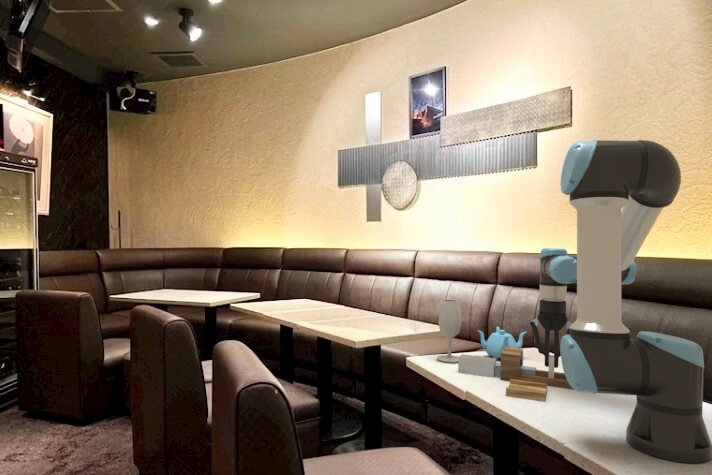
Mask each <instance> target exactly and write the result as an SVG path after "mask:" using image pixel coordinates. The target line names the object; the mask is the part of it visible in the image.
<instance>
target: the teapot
mask: <svg viewBox="0 0 712 475" xmlns="http://www.w3.org/2000/svg"><path fill="white" fill-rule="evenodd" d="M476 331H477V332H478V333H479V335H480V345H481V347H482V348H483V349H484V351H485V352H486V354H487V355H489V357H491V356H492V357H491V358H496V361H499V359H501V352H502V351H503V350H504V348H505V347H510V348H519V349H522V347H523V342H524V340H523V339H524V335H525V334H526V333H527V331H523V332H521V333H520V334H519V337H518V341H517V342H516V339H515V337H514V336H513V335H512V334H511V333H507V332H506V331H505V329H500V326H496V332H492V333H491V334H490V335H489V337H488V339H487V340H485V334H484V331H481V330H479V329H477V330H476Z"/></svg>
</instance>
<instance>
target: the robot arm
mask: <svg viewBox="0 0 712 475" xmlns="http://www.w3.org/2000/svg"><path fill="white" fill-rule="evenodd" d="M560 176H561V177H560V191H561V194H564V195H565V196H569V205H571V206H572V207H573V208H574V209H575V210H576V255H568V251H567V249H565V248H557V247H556V248H542V249H541V250H540V257H539V264H540V265H539V276H540V277H539V298H540V299H539V309H538V314H537V316H536V318H535V319H533V320H531V321H530V322H529V325H530V327H531V328H532V330H533V334H534V338H535V342H536V346H537V351H538V353H539V354H541V355H543V356H544V367H546V368H547V367H548V371H549V375H548V378H554V372H555V368H556V369H559V368H558V367H559V361H560V360H559V359H561V365H562V370H563V373H565V376H566V379H567V381H568V383H569V384H570V386H571V387H572V388H573V389H572V390H575V391H577V392H583V393H592V394H594V395H596V394H607V395H608V394H609V395H619V396H620V395H624V396H636V403H635V407H634V410H633V412H632V413H631V414H632V415H631V417H630V419H629V422H628V423H627V426H626V433H625V434H626V435H625V438H626V442H627V443H628V444H629V445H630V446H631V447H633V448H635V449H636V450H638V451H640V452H643V453H645V454H647V455H650V456H652V457H655V458H659V459H662V460H667V461H672V462H676V463H677V462H678V463H688V464H701V463H707V462H709V461H711V459H712V441H711V437H710V435H709V432H708V429H707V427H706V426H707V425H706V424H705V420H704V417H703V401H704V400H703V399H704V370H705V361H704V360H705V359H704V352H703V348H702V347H701V346H700V344H698V343H696V342H694V341H692V340H689V339H686V338H682V337H678V336H675V335H670V334H664V333H661V332H660V333H659V332H653V331H648V330H647V331H644V330H641V331H639V332H638V333H637V335H636V338H631V334H630V333H631V332H630V329H628V327H626V326H625V324H624V323H623V322H622V285H630V284H632V283H634V281H635V280H636V275H637V264H636V262H635V258H636V256H637V255H638V253H639V251H640V250H641V247H642V246H643V244H644V243H645V241H646V239H647V237H648V236H649V234H650V232H651V230H652V228H653V227H654V225H655V223H656V222H657V219H658V218H659V216H660V214H661V212H662V211H663V209H664V208H668V207H669V206H670V205H672V203H673V202H674V200H675V199H676V197H677V195H678V194H679V190H680V187H681V182H682V181H681V180H682V173H681V167H680V164H679V162H678V160H677V157H675V155H674V154H673V152H672V151H671V150H669V149H668V148H667V147H665V146H664V145H663V144H661V143H658V142H655V141H651V140H645V139H640V140H638V139H637V140H602V139H601V140H596V139H593V140H588V141H586V140H585V141H577V142H575V143H573V144H572V145H571V146H570V147H569V149H568V150H567V153H566V155H565V158H564V161H563V165H562V169H561V175H560ZM568 284H576V320H575V321H574V322H571V321H569V320H568V315H567V301H566V299H567V292H568V291H567V287H568V286H567V285H568ZM539 323H540V325H541V326H542V327H543V329H544V333H545V334H544V336H545V337H544V348H543V343H542V338H541V335H540V330H539V327H538V326H539ZM565 325H566V326H565ZM564 326H565V327H566V332H565V335H563V336H561V338H560V331H561V330H562V329H563V328H564ZM551 331H553V332H554V333H553V334H554V336H553V338H554V341H553V345H554V347H553V348H554V349H553V350H554V351H553V355H551V354H550V352H551V351H550V348H551V347H550V344H551V343H550V340H551V338H550V335H551Z"/></svg>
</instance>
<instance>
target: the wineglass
mask: <svg viewBox="0 0 712 475" xmlns="http://www.w3.org/2000/svg"><path fill="white" fill-rule="evenodd" d="M461 310H462V309H461V304H460V301H459V300H458V299H453V298H452V299H451V298H447V299H445V298H444V299H441V304H440V307H439V313H438V328H439V332H440V334H442V335H443V336H444V337H445V338H446V339H447V354H441V355H437V358H436V360H437V361H439V362H442V363H449V364H450V363H451V364H452V363H453V364H458V358H459V357H460V356H458V355H453V354H452V340H453V339H454V338H455V337H457V335H458V334H460V330H461V326H462V311H461Z"/></svg>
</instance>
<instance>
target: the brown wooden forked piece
mask: <svg viewBox="0 0 712 475" xmlns="http://www.w3.org/2000/svg"><path fill="white" fill-rule="evenodd" d="M500 363H501V370H500V377H499V380H501V381H507V382H508V381H509V382H510V379H514V380H522V381H529V382H537V383H545V384H547V387H552V388H553V387H556V388H562V389H570V390H574V389H573V388H572V387H571V386H570V384H569V383H568V381H567V379H566V376H565V373H564V372H558V371H557V372H556V371H554V378H548V375H549V370H543V369H536V376H531V375H524V374H520V366H524V348H521V349H519V348H510V347H505V348H504V350H503V351H502V352H501V358H500Z"/></svg>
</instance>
